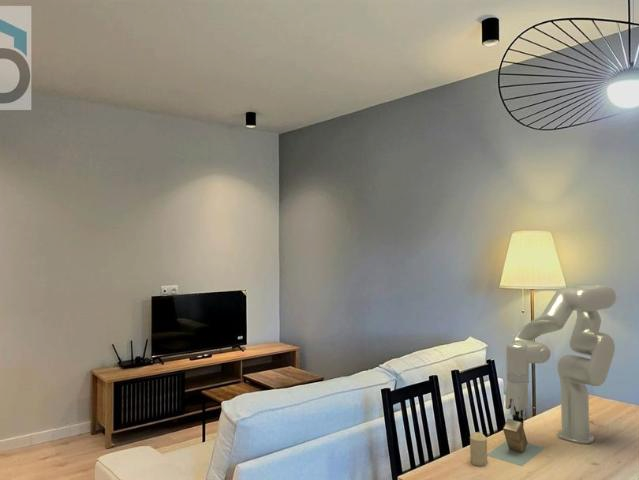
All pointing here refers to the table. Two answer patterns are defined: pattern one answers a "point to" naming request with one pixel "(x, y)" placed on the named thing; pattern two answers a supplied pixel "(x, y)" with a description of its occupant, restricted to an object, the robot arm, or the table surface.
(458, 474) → the table surface
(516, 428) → the block
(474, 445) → the candle
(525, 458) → the mat
